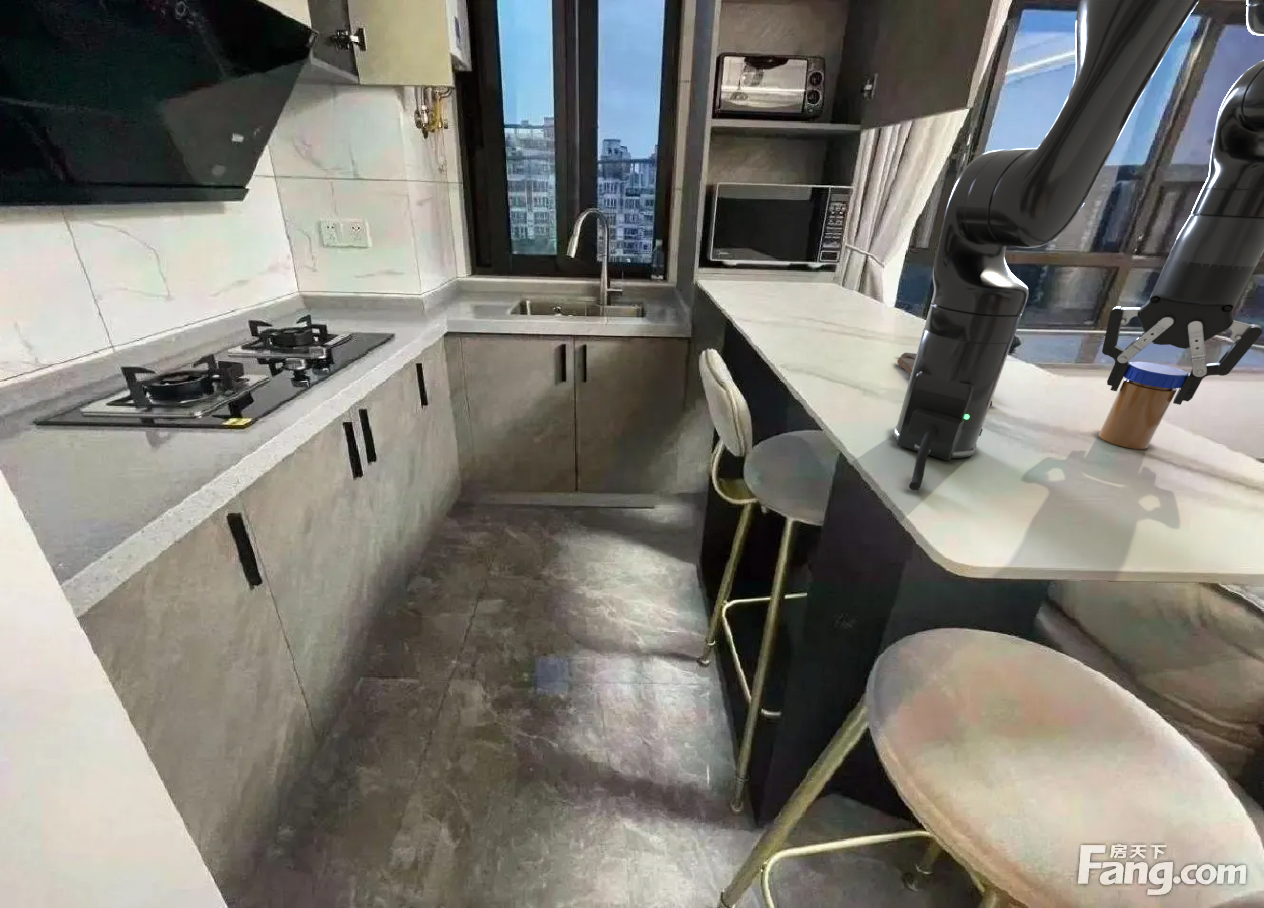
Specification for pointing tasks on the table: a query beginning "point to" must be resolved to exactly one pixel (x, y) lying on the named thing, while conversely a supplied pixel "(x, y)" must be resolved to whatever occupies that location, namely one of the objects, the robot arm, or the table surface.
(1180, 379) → the lid
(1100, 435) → the jar
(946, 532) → the table surface
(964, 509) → the table surface
